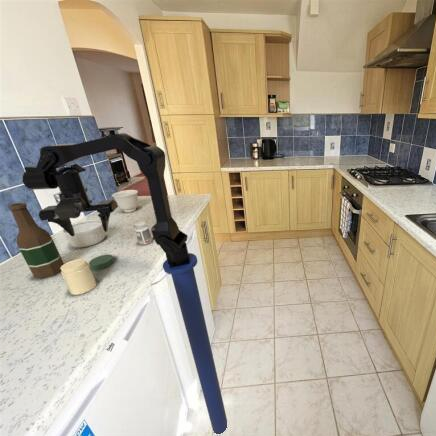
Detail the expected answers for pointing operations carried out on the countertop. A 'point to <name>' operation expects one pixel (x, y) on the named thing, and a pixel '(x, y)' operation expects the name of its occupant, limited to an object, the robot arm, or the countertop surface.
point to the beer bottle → (36, 244)
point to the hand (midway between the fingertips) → (90, 233)
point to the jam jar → (78, 276)
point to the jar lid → (101, 261)
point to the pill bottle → (142, 233)
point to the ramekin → (85, 233)
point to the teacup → (127, 200)
